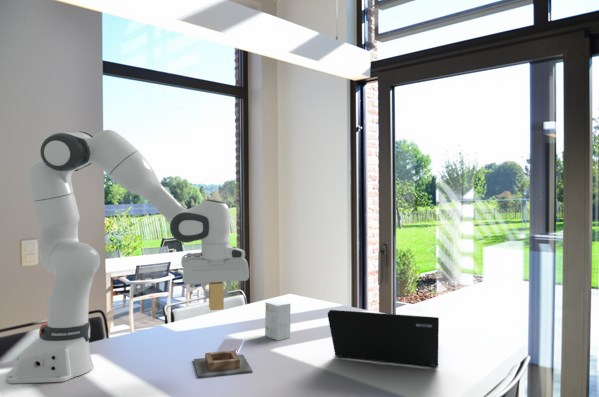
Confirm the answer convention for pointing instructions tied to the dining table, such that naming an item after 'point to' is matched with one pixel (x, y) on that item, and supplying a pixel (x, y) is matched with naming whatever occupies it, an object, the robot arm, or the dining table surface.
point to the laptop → (385, 337)
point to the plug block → (216, 296)
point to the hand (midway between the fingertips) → (216, 296)
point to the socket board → (221, 364)
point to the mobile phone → (231, 345)
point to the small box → (277, 320)
